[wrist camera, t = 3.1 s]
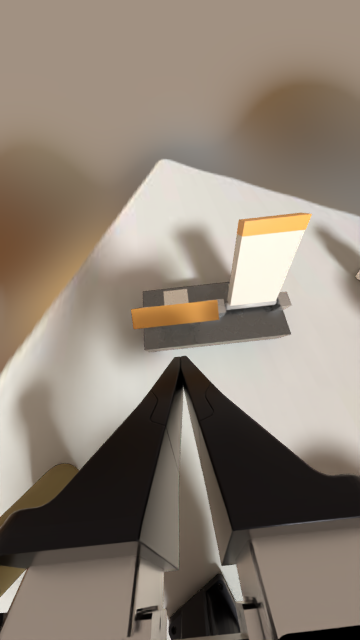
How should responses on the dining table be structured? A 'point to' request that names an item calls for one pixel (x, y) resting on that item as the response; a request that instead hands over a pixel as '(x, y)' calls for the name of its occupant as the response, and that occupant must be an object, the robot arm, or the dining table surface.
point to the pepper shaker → (35, 497)
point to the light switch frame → (223, 331)
